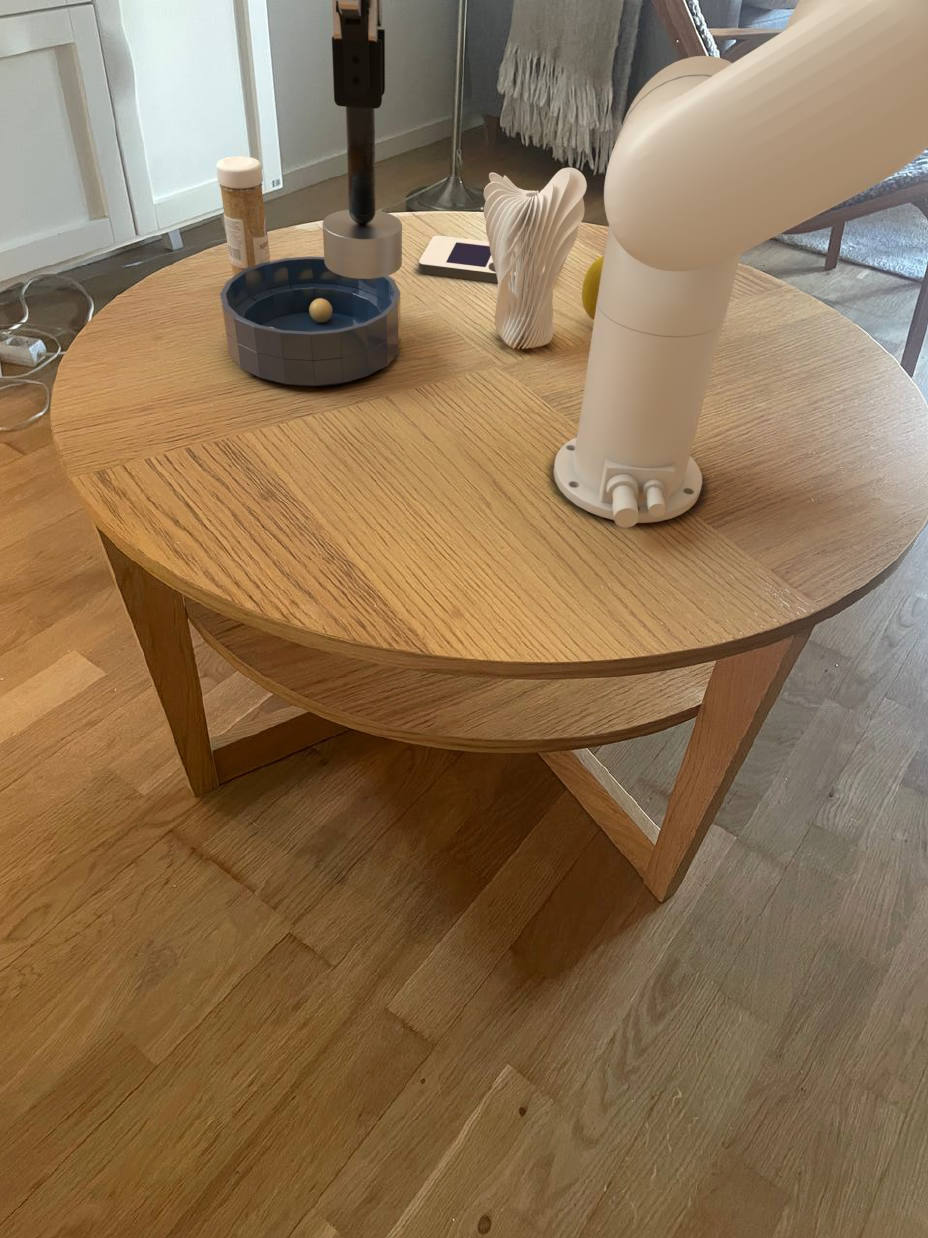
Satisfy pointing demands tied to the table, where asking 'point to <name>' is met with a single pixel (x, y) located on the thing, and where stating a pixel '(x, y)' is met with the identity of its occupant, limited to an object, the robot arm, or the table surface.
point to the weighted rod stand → (362, 212)
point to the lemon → (592, 287)
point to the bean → (320, 310)
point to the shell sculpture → (531, 250)
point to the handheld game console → (459, 259)
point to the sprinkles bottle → (243, 211)
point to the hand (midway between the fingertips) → (360, 97)
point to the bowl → (309, 322)
